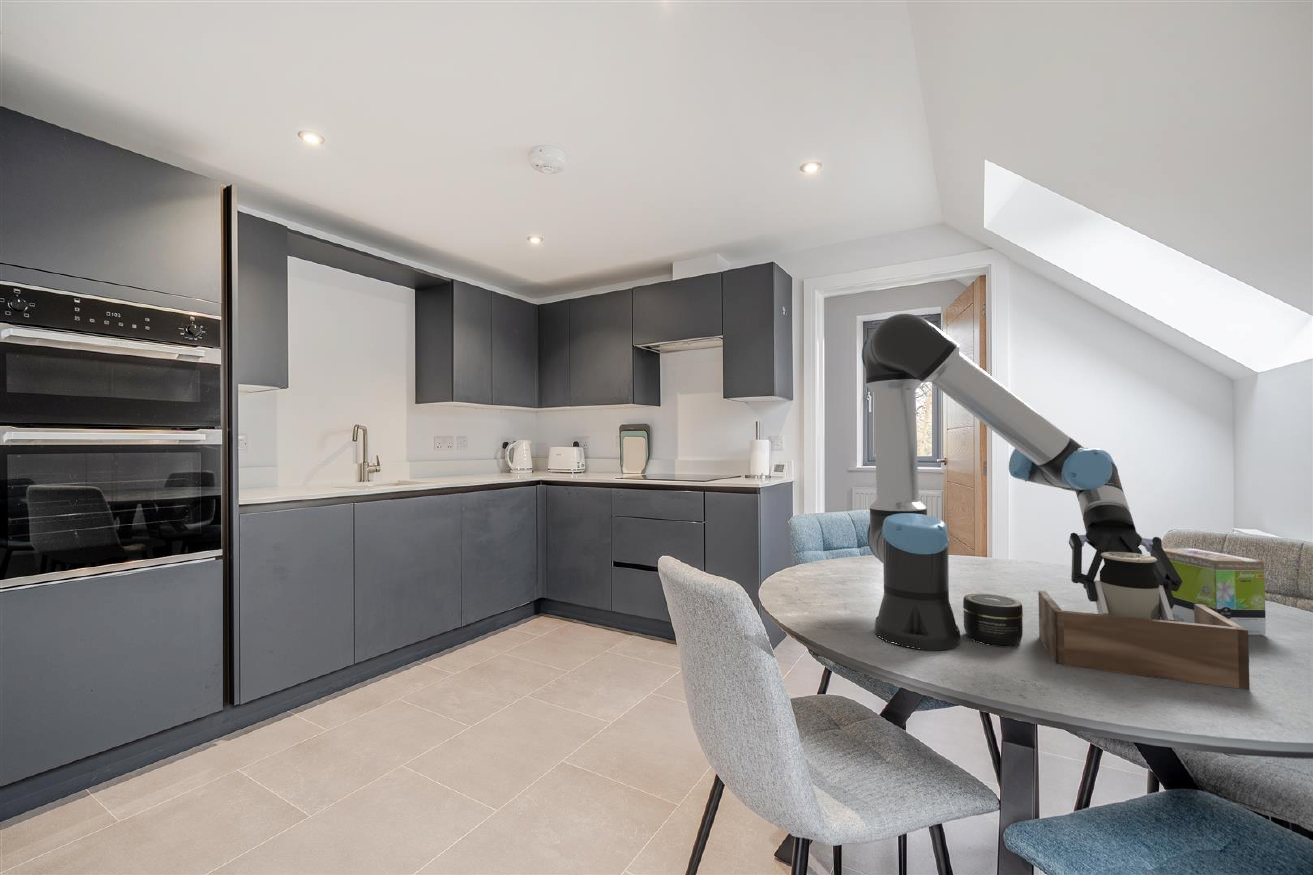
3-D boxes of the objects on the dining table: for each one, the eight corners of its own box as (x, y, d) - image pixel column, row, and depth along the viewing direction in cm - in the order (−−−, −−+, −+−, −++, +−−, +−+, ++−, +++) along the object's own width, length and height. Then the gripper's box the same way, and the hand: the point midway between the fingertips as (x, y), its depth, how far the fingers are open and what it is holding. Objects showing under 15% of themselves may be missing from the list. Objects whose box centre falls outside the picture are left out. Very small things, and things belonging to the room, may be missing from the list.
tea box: (1269, 636, 109) (1267, 560, 109) (1216, 636, 109) (1214, 560, 110) (1196, 613, 124) (1194, 546, 125) (1150, 613, 124) (1148, 546, 125)
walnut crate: (1039, 636, 110) (1038, 590, 110) (1204, 655, 99) (1203, 604, 99) (1056, 664, 96) (1055, 611, 96) (1249, 689, 85) (1248, 630, 86)
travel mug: (1090, 654, 100) (1088, 553, 101) (1119, 648, 103) (1117, 550, 104) (1142, 670, 93) (1140, 561, 93) (1171, 663, 96) (1169, 558, 96)
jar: (964, 627, 116) (963, 590, 116) (1022, 635, 111) (1021, 596, 111) (962, 642, 107) (961, 602, 107) (1024, 651, 102) (1024, 609, 102)
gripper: (1169, 529, 108) (1210, 639, 93) (1040, 523, 117) (1058, 623, 102) (1180, 504, 103) (1225, 616, 88) (1044, 500, 112) (1064, 601, 97)
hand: (1136, 620), depth 95 cm, fingers closed on travel mug, 8 cm apart
